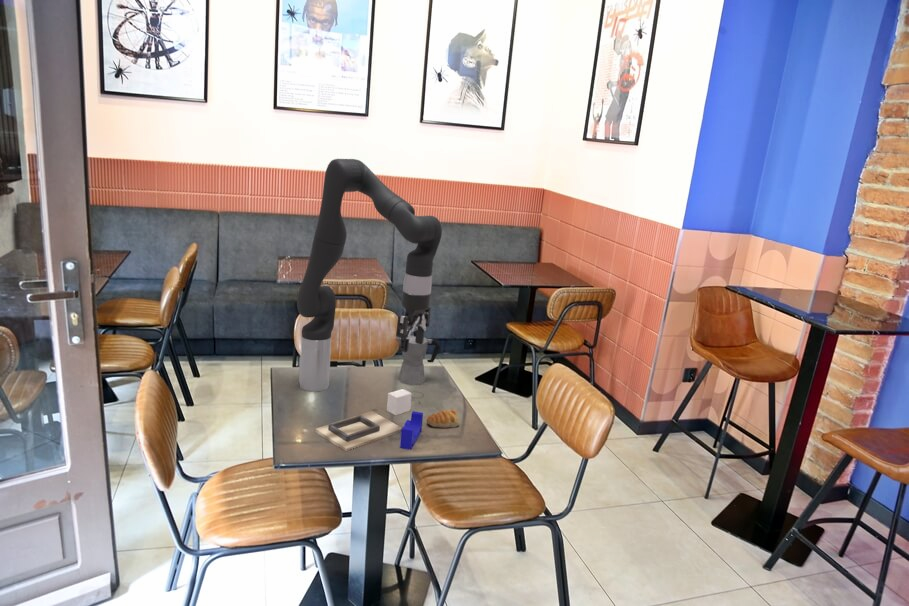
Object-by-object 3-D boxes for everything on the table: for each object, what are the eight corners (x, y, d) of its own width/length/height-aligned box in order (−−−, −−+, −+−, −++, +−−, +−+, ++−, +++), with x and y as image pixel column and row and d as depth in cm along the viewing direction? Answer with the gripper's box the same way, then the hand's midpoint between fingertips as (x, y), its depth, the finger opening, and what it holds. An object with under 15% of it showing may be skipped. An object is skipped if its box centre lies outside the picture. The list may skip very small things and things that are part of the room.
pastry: (431, 430, 180) (432, 418, 179) (422, 420, 185) (423, 408, 184) (460, 426, 184) (462, 415, 183) (451, 416, 189) (452, 405, 188)
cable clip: (406, 429, 180) (407, 410, 178) (421, 432, 179) (423, 412, 178) (394, 448, 168) (396, 427, 167) (410, 451, 168) (412, 430, 166)
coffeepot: (390, 383, 211) (394, 333, 207) (394, 373, 220) (398, 325, 216) (435, 388, 211) (440, 337, 206) (437, 378, 220) (442, 329, 215)
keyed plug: (386, 411, 190) (388, 393, 188) (404, 405, 195) (405, 388, 194) (395, 416, 187) (396, 397, 186) (412, 410, 192) (414, 392, 191)
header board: (315, 431, 173) (315, 423, 172) (371, 414, 187) (372, 406, 186) (345, 452, 164) (346, 443, 163) (402, 431, 178) (403, 423, 177)
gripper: (417, 283, 175) (412, 337, 180) (391, 292, 163) (386, 350, 167) (441, 288, 172) (435, 343, 177) (416, 298, 160) (410, 357, 164)
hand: (411, 347), depth 172 cm, fingers open, 8 cm apart
